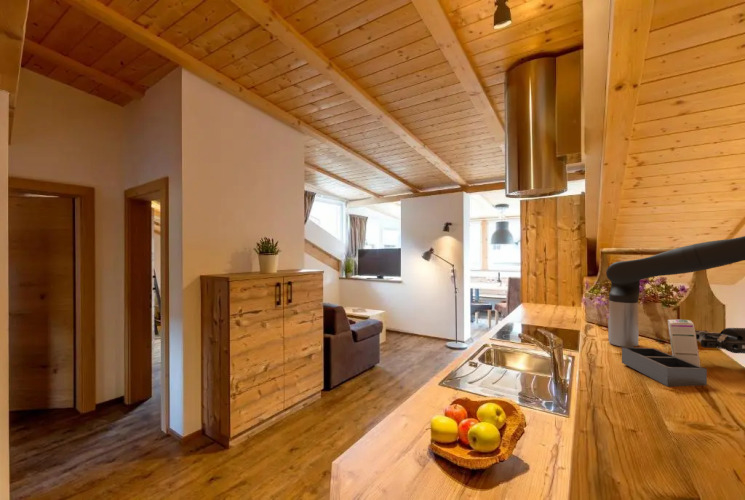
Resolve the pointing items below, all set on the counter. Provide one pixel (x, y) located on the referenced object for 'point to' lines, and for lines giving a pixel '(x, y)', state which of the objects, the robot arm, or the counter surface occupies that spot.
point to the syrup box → (684, 340)
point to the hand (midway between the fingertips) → (689, 339)
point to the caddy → (664, 367)
